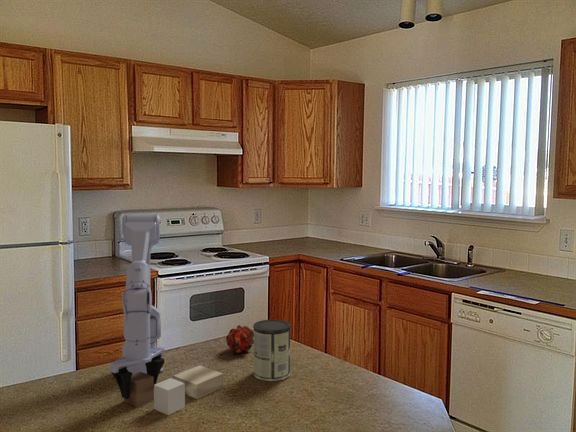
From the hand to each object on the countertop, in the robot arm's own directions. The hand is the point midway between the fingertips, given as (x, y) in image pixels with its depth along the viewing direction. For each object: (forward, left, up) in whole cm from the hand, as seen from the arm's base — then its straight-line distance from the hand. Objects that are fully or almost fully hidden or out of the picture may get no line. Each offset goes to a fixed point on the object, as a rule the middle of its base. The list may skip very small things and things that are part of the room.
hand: (138, 392), depth 126 cm
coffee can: (+15, +33, -2) cm, 36 cm away
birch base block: (+6, +14, -3) cm, 15 cm away
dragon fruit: (-4, +41, -2) cm, 41 cm away
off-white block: (+9, +2, -2) cm, 9 cm away
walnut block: (0, 0, -2) cm, 2 cm away
